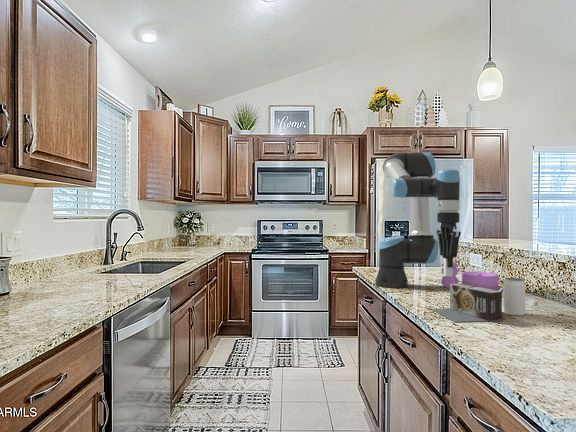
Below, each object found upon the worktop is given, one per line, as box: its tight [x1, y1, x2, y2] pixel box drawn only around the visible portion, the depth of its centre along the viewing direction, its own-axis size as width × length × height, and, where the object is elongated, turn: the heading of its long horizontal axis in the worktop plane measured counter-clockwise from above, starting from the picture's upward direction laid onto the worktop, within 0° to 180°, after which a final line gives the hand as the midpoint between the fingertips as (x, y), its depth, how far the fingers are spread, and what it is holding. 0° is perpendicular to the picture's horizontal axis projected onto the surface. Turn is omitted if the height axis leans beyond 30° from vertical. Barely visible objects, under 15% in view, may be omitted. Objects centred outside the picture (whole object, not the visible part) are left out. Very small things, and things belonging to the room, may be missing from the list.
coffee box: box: [449, 282, 503, 321], centre depth 129 cm, size 9×6×16 cm
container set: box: [441, 261, 500, 291], centre depth 178 cm, size 25×15×13 cm, turn 86°
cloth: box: [498, 287, 537, 307], centre depth 153 cm, size 22×19×6 cm
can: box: [502, 277, 526, 317], centre depth 131 cm, size 6×6×12 cm
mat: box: [431, 307, 503, 324], centre depth 129 cm, size 16×16×1 cm
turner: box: [501, 312, 516, 320], centre depth 132 cm, size 15×4×1 cm, turn 6°
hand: (448, 275), depth 140 cm, fingers closed
